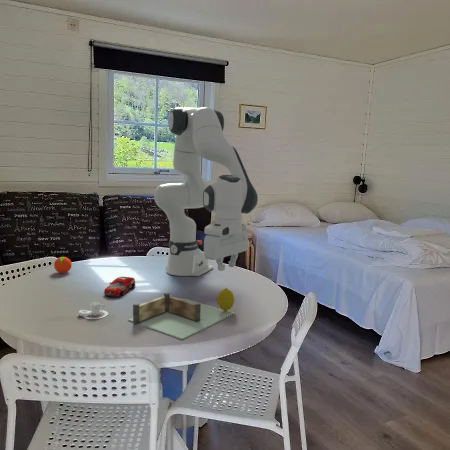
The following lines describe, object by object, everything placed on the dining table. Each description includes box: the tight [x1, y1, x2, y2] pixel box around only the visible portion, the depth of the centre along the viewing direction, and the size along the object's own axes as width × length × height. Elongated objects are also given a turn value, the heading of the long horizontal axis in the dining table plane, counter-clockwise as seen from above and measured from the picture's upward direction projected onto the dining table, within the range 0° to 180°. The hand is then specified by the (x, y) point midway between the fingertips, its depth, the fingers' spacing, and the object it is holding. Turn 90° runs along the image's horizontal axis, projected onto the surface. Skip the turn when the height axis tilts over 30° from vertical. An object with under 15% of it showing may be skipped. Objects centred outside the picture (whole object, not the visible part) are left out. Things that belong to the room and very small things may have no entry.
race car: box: [104, 276, 136, 298], centre depth 162 cm, size 16×7×5 cm, turn 165°
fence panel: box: [169, 295, 201, 321], centre depth 137 cm, size 13×2×5 cm, turn 52°
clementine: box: [53, 256, 73, 274], centre depth 182 cm, size 8×7×7 cm
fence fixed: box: [132, 292, 171, 325], centre depth 136 cm, size 15×2×6 cm, turn 145°
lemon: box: [216, 287, 235, 312], centre depth 143 cm, size 6×6×8 cm
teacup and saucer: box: [78, 301, 109, 320], centre depth 138 cm, size 9×8×4 cm
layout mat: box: [127, 298, 235, 341], centre depth 138 cm, size 26×22×1 cm
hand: (226, 268), depth 141 cm, fingers open, 5 cm apart
